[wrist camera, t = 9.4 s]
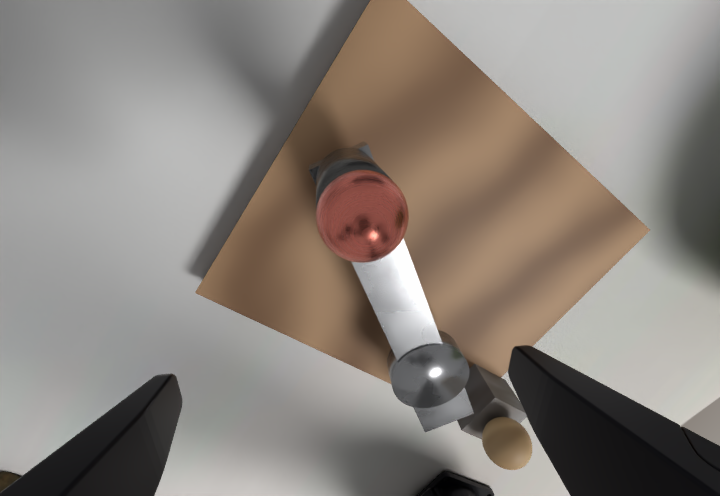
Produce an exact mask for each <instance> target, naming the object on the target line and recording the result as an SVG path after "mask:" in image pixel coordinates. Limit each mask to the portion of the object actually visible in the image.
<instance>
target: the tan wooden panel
mask: <svg viewBox="0 0 720 496" xmlns="http://www.w3.org/2000/svg"><path fill="white" fill-rule="evenodd" d="M362 142H366V143H367V144H368V146H369V148H370V151H371V154H372V156H373V159H374V162H375V163H376V164H377V165H378V166H379V167H380V168H381V169H382V170H383V171H384V172H385V173H386V174H387V175H388V176H389V177H390V178H391V179H392V180H393V181H394V182H395V183H396V185H397V186H398V187H399V188H400V190H401V191H402V193H403V195H404V197H405V199H406V202H407V205H408V212H409V221H408V226H407V230H406V233H405V235H404V238H403V239H404V242H405V244H406V247H407V250H408V252H409V255H410V258H411V260H412V263H413V266H414V268H415V271H416V274H417V276H418V279H419V282H420V284H421V287H422V290H423V292H424V295H425V298H426V300H427V303H428V306H429V308H430V311H431V314H432V316H433V319H434V322H435V324H436V327H437V330H441V331H444V332H446V333H447V334H449V335H450V336H451V337H452V338H453V339H454V340H455V342H456V343H457V345H458V347H459V348H460V350H461V352H462V354H463V355H464V357H465V359H466V361H467V363H468V365H469V378H468V381H467V384H466V385H465V390H466V393H467V395H468V398H469V401H470V404H471V406H472V409H473V412H474V414H472V415H469V416H466V417H464V418H461V419H458V420H457V421H458V423H459V425H460V428H461V430H462V431H464V432H467V433H469V434H471V435H473V436H476V437H478V438H480V439H482V442H483V447H484V450H485V452H486V454H487V455H488V457H489V458H490V459H491V460H492V461H493V462H494V463H495V464H496V465H498V466H500V467H502V468H504V469H508V470H516V469H520V468H522V467H524V466H525V465H526V464H527V463H528V461H529V460H530V458H531V454H532V443H531V439H530V436H529V434H528V433H527V431H526V430H525V428H524V427H523V426H522V425H521V424H520V423H521V422H522V421H523V420H524V419H525V418H526V417H527V415H526V413H525V411H524V409H523V407H522V404H521V403H520V401H519V400H518V398H517V397H516V395H515V394H514V392H513V391H512V389H511V388H510V386H509V385H508V383H507V382H506V380H504V379H502V378H501V377H502V376H503V375H504V374H505V373H506V372H507V371H508V368H509V363H510V358H511V353H512V349H513V348H514V347H515V346H521V345H529V346H533V345H534V344H535V343H536V342H537V341H538V340H539V339H540V338H541V337H542V336H543V335H544V334H545V333H546V332H547V331H548V330H549V329H550V328H552V327H553V326H554V325H555V324H556V323H557V322H558V321H559V320H560V319H561V318H562V317H563V316H564V315H565V314H566V313H567V312H568V311H569V310H570V309H571V308H572V307H573V306H574V305H575V304H576V303H577V302H578V301H579V300H580V299H581V298H582V297H583V296H584V295H585V294H586V293H587V292H588V291H589V290H590V289H591V288H592V287H593V286H594V285H595V284H596V283H597V282H598V281H599V280H600V279H601V278H602V277H603V276H604V275H605V274H606V273H607V272H608V271H609V270H610V269H611V268H612V267H613V266H614V265H615V264H616V263H617V262H618V261H619V260H620V259H621V258H622V257H623V256H624V255H625V254H626V253H627V252H628V251H629V250H630V249H631V248H633V247H634V246H635V245H636V244H637V243H638V242H639V241H640V240H641V239H642V238H643V237H644V236H645V235H646V234H647V233H648V232H649V231H650V229H649V228H647V227H646V226H645V225H644V224H643V223H642V222H641V221H640V220H639V219H638V218H637V217H636V216H635V215H634V214H633V213H632V212H631V211H629V210H628V209H627V208H626V207H625V206H624V205H623V204H622V203H621V202H620V201H619V200H618V199H617V198H616V197H615V196H614V195H613V194H611V193H610V192H609V191H608V190H607V189H606V188H605V187H604V186H603V185H602V184H601V183H600V182H599V181H598V180H597V179H596V178H595V177H593V176H592V175H591V174H590V173H589V172H588V171H587V170H586V169H585V168H584V167H583V166H582V165H581V164H580V163H579V162H578V161H577V160H575V159H574V158H573V157H572V156H571V155H570V154H569V153H568V152H567V151H566V150H565V149H564V148H563V147H562V146H561V145H560V144H559V143H557V142H556V141H555V140H554V139H553V138H552V137H551V136H550V135H549V134H548V133H547V132H546V131H545V130H544V129H543V128H542V127H541V126H539V125H538V124H537V123H536V122H535V121H534V120H533V119H532V118H531V117H530V116H529V115H528V114H527V113H526V112H525V111H524V110H523V109H522V108H520V107H519V106H518V105H517V104H516V103H515V102H514V101H513V100H512V99H511V98H510V97H509V96H508V95H507V94H506V93H505V92H504V91H502V90H501V89H500V88H499V87H498V86H497V85H496V84H495V83H494V82H493V81H492V80H491V79H490V78H489V77H488V76H487V75H486V74H484V73H483V72H482V71H481V70H480V69H479V68H478V67H477V66H476V65H475V64H474V63H473V62H472V61H471V60H470V59H469V58H468V57H466V56H465V55H464V54H463V53H462V52H461V51H460V50H459V49H458V48H457V47H456V46H455V45H454V44H453V43H452V42H451V41H450V40H448V39H447V38H446V37H445V36H444V35H443V34H442V33H441V32H440V31H439V30H438V29H437V28H436V27H435V26H434V25H433V24H432V23H430V22H429V21H428V20H427V19H426V18H425V17H424V16H423V15H422V14H421V13H420V12H419V11H418V10H417V9H416V8H415V7H414V6H412V5H411V4H410V3H409V2H408V1H407V0H370V2H369V3H368V5H367V7H366V8H365V10H364V12H363V13H362V15H361V17H360V18H359V20H358V22H357V23H356V25H355V27H354V28H353V30H352V32H351V33H350V35H349V37H348V38H347V40H346V42H345V43H344V45H343V47H342V48H341V50H340V52H339V53H338V55H337V57H336V58H335V60H334V62H333V63H332V65H331V67H330V68H329V70H328V72H327V73H326V75H325V77H324V78H323V80H322V82H321V83H320V85H319V87H318V88H317V90H316V92H315V93H314V95H313V97H312V98H311V100H310V102H309V103H308V105H307V107H306V108H305V110H304V112H303V113H302V115H301V117H300V119H299V120H298V122H297V124H296V125H295V127H294V129H293V130H292V132H291V134H290V135H289V137H288V139H287V140H286V142H285V144H284V145H283V147H282V149H281V150H280V152H279V154H278V155H277V157H276V159H275V160H274V162H273V164H272V165H271V167H270V169H269V170H268V172H267V174H266V175H265V177H264V179H263V180H262V182H261V184H260V185H259V187H258V189H257V190H256V192H255V194H254V195H253V197H252V199H251V200H250V202H249V204H248V205H247V207H246V209H245V210H244V212H243V214H242V215H241V217H240V219H239V220H238V222H237V224H236V225H235V227H234V229H233V230H232V232H231V234H230V235H229V237H228V239H227V240H226V242H225V244H224V245H223V247H222V249H221V250H220V252H219V254H218V255H217V257H216V259H215V260H214V262H213V264H212V265H211V267H210V269H209V270H208V272H207V274H206V276H205V277H204V279H203V281H202V282H201V284H200V286H199V287H198V289H197V291H196V292H195V293H197V294H199V295H201V296H203V297H205V298H207V299H210V300H212V301H214V302H216V303H218V304H220V305H222V306H225V307H227V308H229V309H231V310H233V311H235V312H237V313H240V314H242V315H244V316H246V317H248V318H250V319H253V320H255V321H257V322H259V323H261V324H263V325H265V326H268V327H270V328H272V329H274V330H276V331H278V332H280V333H283V334H285V335H287V336H289V337H291V338H293V339H296V340H298V341H300V342H302V343H304V344H306V345H308V346H311V347H313V348H315V349H317V350H319V351H321V352H323V353H326V354H328V355H330V356H332V357H334V358H336V359H339V360H341V361H343V362H345V363H347V364H349V365H351V366H354V367H356V368H358V369H360V370H362V371H364V372H366V373H369V374H371V375H373V376H375V377H377V378H379V379H382V380H384V381H386V382H388V383H390V384H391V380H390V376H389V372H388V369H387V357H388V354H389V352H390V350H391V346H390V344H389V342H388V339H387V337H386V335H385V333H384V331H383V329H382V327H381V324H380V322H379V320H378V318H377V316H376V314H375V312H374V309H373V307H372V305H371V303H370V301H369V299H368V296H367V294H366V292H365V290H364V288H363V286H362V284H361V281H360V279H359V277H358V275H357V273H356V271H355V269H354V266H353V264H352V262H351V261H348V260H345V259H343V258H341V257H339V256H337V255H336V254H335V253H333V252H332V251H331V250H330V249H329V248H328V247H327V246H326V245H325V243H324V242H323V240H322V238H321V237H320V234H319V232H318V228H317V224H316V185H315V182H314V180H313V178H312V176H311V174H310V172H309V165H311V164H313V163H316V162H318V161H320V160H322V159H324V158H325V157H326V156H327V155H328V154H330V153H331V152H333V151H335V150H338V149H341V148H350V147H352V146H355V145H357V144H359V143H362Z"/></svg>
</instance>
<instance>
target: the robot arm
mask: <svg viewBox="0 0 720 496" xmlns="http://www.w3.org/2000/svg"><path fill="white" fill-rule="evenodd" d="M508 374H509V378H510V380H511V382H512V385H513V387H514V389H515V391H516V393H517V396H518V398H519V400H520V402H521V404H522V407H523V409H524V411H525V413H526V415H527V418H528V420H529V422H530V424H531V426H532V428H533V430H534V432H535V434H536V436H537V438H538V440H539V441H540V443H541V445H542V447H543V448H544V450H545V452H546V454H547V455H548V457H549V459H550V461H551V462H552V464H553V466H554V468H555V469H556V471H557V473H558V475H559V476H560V478H561V480H562V482H563V483H564V485H565V487H566V489H567V490H568V492H569V494H570V495H571V496H720V446H719V445H717V444H715V443H713V442H711V441H709V440H707V439H705V438H703V437H701V436H699V435H698V434H696V433H694V432H692V431H690V430H688V429H686V428H685V427H680V425H679V424H677V423H675V422H673V421H671V420H669V419H667V418H666V417H664V416H662V415H660V414H658V413H656V412H654V411H652V410H650V409H649V408H647V407H645V406H643V405H641V404H639V403H637V402H635V401H634V400H632V399H630V398H628V397H626V396H624V395H622V394H620V393H618V392H617V391H615V390H613V389H611V388H609V387H607V386H605V385H603V384H601V383H600V382H598V381H596V380H594V379H592V378H590V377H588V376H586V375H584V374H583V373H581V372H579V371H577V370H575V369H573V368H571V367H569V366H568V365H566V364H564V363H562V362H560V361H558V360H556V359H554V358H552V357H551V356H549V355H547V354H545V353H543V352H541V351H539V350H537V349H535V348H534V347H532V346H529V345H521V346H515V347H514V348H513V349H512V353H511V358H510V363H509V368H508ZM181 408H182V396H181V392H180V389H179V385H178V381H177V378H176V376H175V375H174V374H162V375H156V376H155V377H153V378H152V379H150V380H149V381H148V382H146V383H145V384H144V385H142V386H141V387H140V388H138V389H137V390H136V391H134V392H133V393H132V394H131V395H129V396H128V397H127V398H125V399H124V400H123V401H121V402H120V403H119V404H117V405H116V406H115V407H113V408H112V409H111V410H109V411H108V412H107V413H105V414H104V415H103V416H101V417H100V418H99V419H97V420H96V421H95V422H93V423H92V424H91V425H89V426H88V427H87V428H85V429H84V430H83V431H81V432H80V433H79V434H77V435H76V436H75V437H73V438H72V439H71V440H69V441H68V442H67V443H65V444H64V445H63V446H61V447H60V448H59V449H57V450H56V451H55V452H53V453H52V454H51V455H49V456H48V457H47V458H46V459H44V460H43V461H42V462H40V463H39V464H38V465H36V466H35V467H34V468H32V469H31V470H30V471H28V472H27V473H26V474H24V475H23V476H22V477H20V478H19V479H18V480H16V481H15V482H14V483H12V484H11V485H10V486H8V487H7V488H6V489H4V490H3V491H2V492H0V496H154V495H155V492H156V490H157V487H158V485H159V482H160V479H161V477H162V474H163V471H164V468H165V465H166V461H167V458H168V454H169V451H170V447H171V444H172V440H173V437H174V433H175V429H176V426H177V422H178V419H179V415H180V412H181ZM418 496H494V493H493V491H492V489H491V488H489V487H486V486H483V485H481V484H478V483H476V482H473V481H470V480H468V479H465V478H463V477H460V476H458V475H455V474H452V473H450V472H443V473H441V474H440V475H439V476H438V477H437V478H436V479H435V480H434V481H433V482H432V483H431V484H430V485H428V486H427V487H426V488H425V489H424V490H423V491H422V492H421V493H420V494H419V495H418Z"/></svg>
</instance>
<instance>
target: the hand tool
mask: <svg viewBox="0 0 720 496" xmlns="http://www.w3.org/2000/svg"><path fill="white" fill-rule="evenodd" d="M20 477H22V476H19V475H16V474H14V473H10V472H6V471H2V472H0V492H2V491H3V490H4V489H6V488H7V487H8V486H10V485H11V484H12V483H14V482H15V481H16V480H18V479H19V478H20Z"/></svg>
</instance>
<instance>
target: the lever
mask: <svg viewBox="0 0 720 496" xmlns="http://www.w3.org/2000/svg"><path fill="white" fill-rule="evenodd" d="M309 172H310V174H311V176H312V178H313V180H314V182H315V185H316V224H317V228H318V232H319V234H320V237H321V238H322V240H323V242H324V243H325V245H326V246H327V247H328V248H329V249H330V250H331V251H332V252H333V253H335V254H336V255H337V256H339V257H341V258H343V259H345V260H348V261H351V262H352V264H353V266H354V269H355V271H356V273H357V275H358V277H359V279H360V281H361V284H362V286H363V288H364V290H365V292H366V294H367V296H368V299H369V301H370V303H371V305H372V307H373V309H374V312H375V314H376V316H377V318H378V320H379V322H380V324H381V327H382V329H383V331H384V333H385V335H386V337H387V339H388V342H389V344H390V346H391V350H390V352H389V354H388V357H387V369H388V372H389V376H390V380H391V384H392V388H393V391H394V393H395V395H396V397H397V398H398V399H399V400H400V401H401V402H403V403H404V404H406V405H409V406H412V407H413V408H414V410H415V412H416V414H417V416H418V418H419V420H420V422H421V424H422V426H423V429H424V431H425V432H427V431H430V430H432V429H435V428H438V427H440V426H443V425H445V424H448V423H451V422H453V421H456V420H458V419H461V418H464V417H466V416H469V415H472V414H474V412H473V409H472V406H471V404H470V401H469V398H468V395H467V393H466V390H465V385H466V384H467V381H468V378H469V365H468V363H467V361H466V359H465V357H464V355H463V354H462V352H461V350H460V348H459V347H458V345H457V343H456V342H455V340H454V339H453V338H452V337H451V336H450V335H449V334H447V333H446V332H444V331H441V330H437V327H436V324H435V322H434V319H433V316H432V314H431V311H430V308H429V306H428V303H427V300H426V298H425V295H424V292H423V290H422V287H421V284H420V282H419V279H418V276H417V274H416V271H415V268H414V266H413V263H412V260H411V258H410V255H409V252H408V250H407V247H406V244H405V242H404V239H403V238H404V235H405V233H406V230H407V226H408V221H409V212H408V205H407V202H406V199H405V197H404V195H403V193H402V191H401V190H400V188H399V187H398V186H397V185H396V183H395V182H394V181H393V180H392V179H391V178H390V177H389V176H388V175H387V174H386V173H385V172H384V171H383V170H382V169H381V168H380V167H379V166H378V165H377V164H376V163H375V162H374V159H373V156H372V154H371V151H370V148H369V146H368V144H367V143H366V142H362V143H359V144H357V145H355V146H352V147H350V148H341V149H338V150H335V151H333V152H331V153H330V154H328V155H327V156H326V157H325V158H324V159H322V160H320V161H318V162H316V163H313V164H311V165H309Z"/></svg>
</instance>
